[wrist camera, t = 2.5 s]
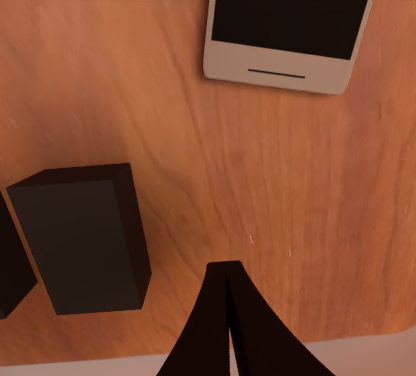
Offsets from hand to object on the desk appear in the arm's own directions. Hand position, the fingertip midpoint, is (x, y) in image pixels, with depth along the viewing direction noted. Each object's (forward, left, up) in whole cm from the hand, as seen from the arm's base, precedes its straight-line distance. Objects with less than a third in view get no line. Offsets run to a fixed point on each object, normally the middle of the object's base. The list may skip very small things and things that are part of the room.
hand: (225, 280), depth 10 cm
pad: (0, +7, -6) cm, 9 cm away
